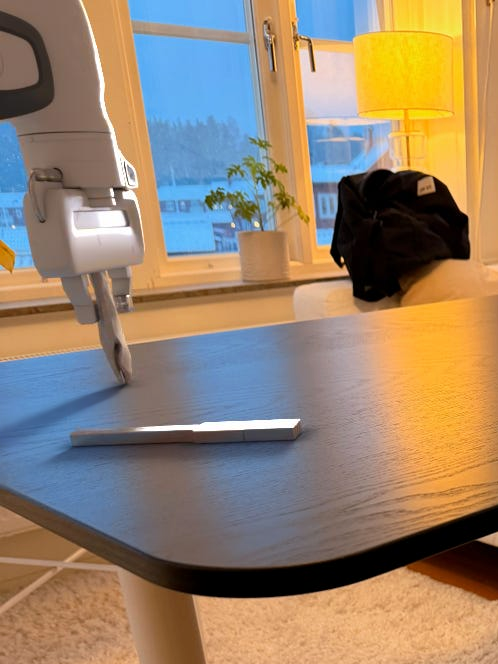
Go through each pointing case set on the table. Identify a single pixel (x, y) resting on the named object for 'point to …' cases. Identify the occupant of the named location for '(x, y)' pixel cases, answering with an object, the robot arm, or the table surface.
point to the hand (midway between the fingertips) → (107, 318)
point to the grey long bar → (191, 433)
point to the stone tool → (111, 328)
